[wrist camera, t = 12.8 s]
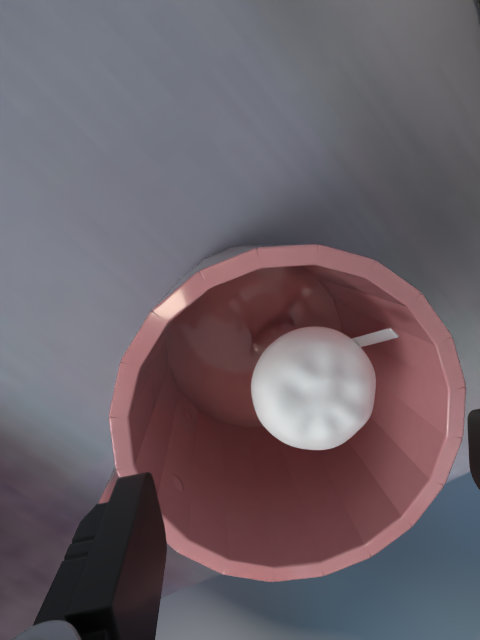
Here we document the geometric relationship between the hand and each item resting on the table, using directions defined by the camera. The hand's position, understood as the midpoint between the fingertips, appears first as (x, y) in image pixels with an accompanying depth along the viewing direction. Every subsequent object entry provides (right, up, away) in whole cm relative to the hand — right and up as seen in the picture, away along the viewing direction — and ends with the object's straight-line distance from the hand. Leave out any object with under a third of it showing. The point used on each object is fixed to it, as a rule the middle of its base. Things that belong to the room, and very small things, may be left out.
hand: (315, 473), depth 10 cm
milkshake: (+1, +2, +13) cm, 13 cm away
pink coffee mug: (-3, +1, +13) cm, 14 cm away
